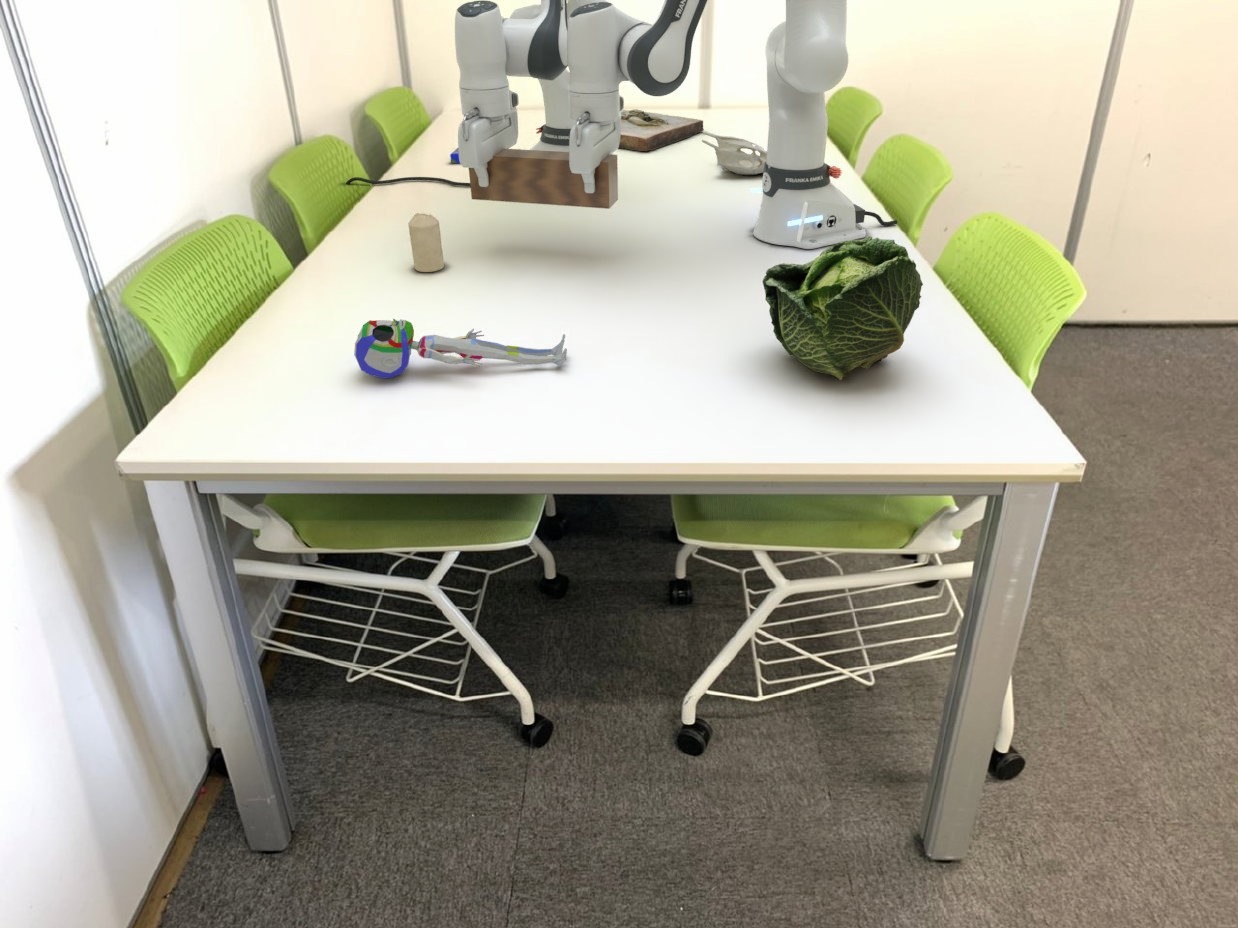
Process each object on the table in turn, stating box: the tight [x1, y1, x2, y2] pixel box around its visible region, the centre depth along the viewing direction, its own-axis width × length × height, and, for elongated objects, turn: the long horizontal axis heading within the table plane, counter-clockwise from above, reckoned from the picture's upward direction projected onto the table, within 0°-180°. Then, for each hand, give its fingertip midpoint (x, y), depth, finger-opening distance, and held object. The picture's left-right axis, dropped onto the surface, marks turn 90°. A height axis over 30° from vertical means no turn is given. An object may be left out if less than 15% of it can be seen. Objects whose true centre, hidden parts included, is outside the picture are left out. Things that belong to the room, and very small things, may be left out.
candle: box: [407, 212, 445, 273], centre depth 166 cm, size 6×6×10 cm
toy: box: [353, 318, 568, 379], centre depth 130 cm, size 10×8×30 cm
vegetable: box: [762, 236, 924, 381], centre depth 127 cm, size 20×19×20 cm
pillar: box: [449, 147, 461, 164], centre depth 242 cm, size 2×2×20 cm
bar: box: [468, 148, 619, 210], centre depth 166 cm, size 27×6×8 cm, turn 74°
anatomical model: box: [701, 131, 767, 176], centre depth 221 cm, size 15×9×25 cm
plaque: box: [618, 108, 705, 152], centre depth 257 cm, size 30×7×30 cm
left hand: (492, 180), depth 169 cm, fingers closed on bar, 6 cm apart
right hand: (596, 186), depth 164 cm, fingers closed on bar, 6 cm apart
